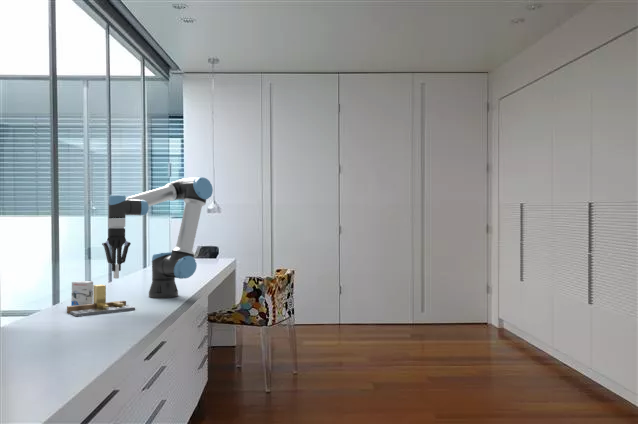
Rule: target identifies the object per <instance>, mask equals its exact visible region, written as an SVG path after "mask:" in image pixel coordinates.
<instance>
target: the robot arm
mask: <svg viewBox="0 0 638 424" xmlns="http://www.w3.org/2000/svg"><path fill="white" fill-rule="evenodd" d="M213 192H214V189H213V185H212V183H211V181H210V180H209V179H208V178H207V177H202V176H197V177H183V178H181V179H177V180H175V181H171V182H169V183H166V184H165V185H164V186H162V187H158V188H155V189H154V188H153V189H152V190H148V191H144V192H141V193H138V194H135V195H134V194H133V195H131V196H128V197H127V196H126V195H125V194H110V195H109V196H108V205H107V206H108V217H107V218H108V221H107V222H108V227H109V228H108V230H107V233H108V234H107V235H108V237H107V240H106V241H105V242H102V244H101V245H102V246H103V248H104V252H105V257H106V262H107V263H108V264H110V265H111V272H113V279H120V272H121V270H122V264H125V262H126V259H127V255H128V252H129V247H130V245H131V242H129V241H128V240H127V239H126V217H127V216H145V215H147V214H148V213H149V208H150V207H151V206H155V205H157V204H161V203H164V202H167V201H171V202H173V201H177V200H183V202H184V203H185V206H184V210H183V214H182V217H181V222H180V227H179V232H178V236H177V241H176V245H175V247H174V248H173V249H172V250H171V251H168V252H159V253H154V254H153V255H152V256H151V259H152V260H151V284H150V286H149V290H148V297H149V298H154V299H165V298H166V299H169V298H175V297H178V296H179V290H178V286H177V284H176V279H180V280H182V279H189V278H190V277H192V276H193V275H194V274H195V273H196V270H197V265H198V264H197V260H196V259H195V253H194V251H193V249H194V244H195V241H196V239H195V238H196V236H197V229H198V226H199V221H200V217H201V212H202V208H203V207H204V206H205V205H206V204H207V200H208V199H210V198H211V197H212V195H213ZM109 246H110V247H109ZM123 246H124V247H123ZM110 249H111V252H110Z"/></svg>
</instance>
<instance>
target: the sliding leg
mask: <svg viewBox="0 0 638 424" xmlns="http://www.w3.org/2000/svg"><path fill="white" fill-rule="evenodd" d="M106 289H107V286H106V284H93V304H95V303H96V309H97V308H108V307H109V305H106V302H107V299H106V298H107V297H106V296H107V291H106Z"/></svg>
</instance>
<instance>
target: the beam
mask: <svg viewBox="0 0 638 424" xmlns="http://www.w3.org/2000/svg"><path fill="white" fill-rule="evenodd" d="M106 305H109V307H116V306H119V307H122V306H125V305H127V301H126V300H117V301H106ZM88 309H96V303H95V304H85V305H75V306H71V305H67V306H66V313H67V314H70V311H78V310H88Z"/></svg>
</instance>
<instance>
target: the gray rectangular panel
mask: <svg viewBox="0 0 638 424" xmlns="http://www.w3.org/2000/svg"><path fill="white" fill-rule="evenodd" d="M129 310H131V311H135V310H136V307H135V306H133V305H132V306H131V305H129V304H126V305H125V306H122V307H119V306H116V307H108V308H97V309H88V310H78V311H70V313H69V314H70V315H72V316H74V317H85V316H93V315H102V314H111V313H112V312H113V313H119V311H122V312H130V311H129ZM113 313H112V314H113Z"/></svg>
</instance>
